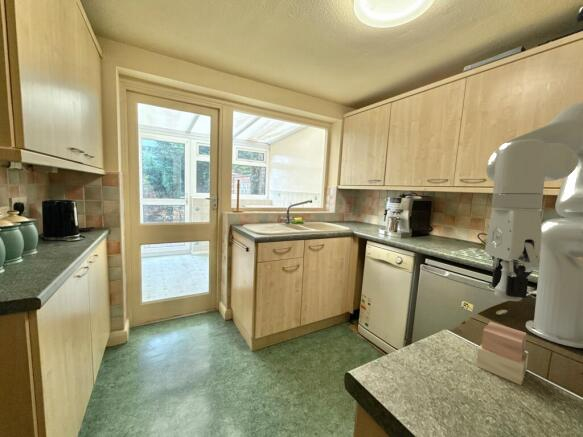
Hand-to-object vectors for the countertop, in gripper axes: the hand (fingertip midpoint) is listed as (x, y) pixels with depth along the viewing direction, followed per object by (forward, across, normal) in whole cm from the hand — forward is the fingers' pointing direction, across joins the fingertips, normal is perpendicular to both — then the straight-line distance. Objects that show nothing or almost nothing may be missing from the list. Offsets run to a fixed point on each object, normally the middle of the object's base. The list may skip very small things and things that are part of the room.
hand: (508, 291), depth 51 cm
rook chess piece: (+2, 0, 0) cm, 2 cm away
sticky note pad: (+17, 0, 0) cm, 17 cm away
